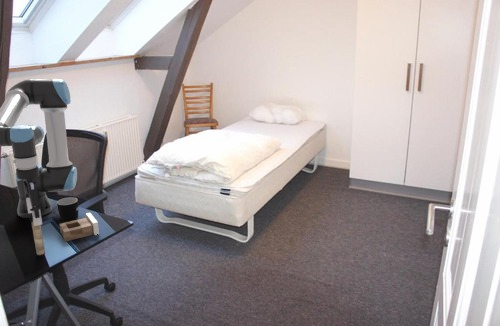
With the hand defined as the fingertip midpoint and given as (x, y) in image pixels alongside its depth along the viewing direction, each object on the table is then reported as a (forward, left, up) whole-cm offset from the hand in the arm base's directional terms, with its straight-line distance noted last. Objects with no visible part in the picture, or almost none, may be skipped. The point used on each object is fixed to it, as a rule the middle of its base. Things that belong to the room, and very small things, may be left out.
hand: (35, 218), depth 154 cm
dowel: (0, 0, -16) cm, 16 cm away
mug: (-26, +17, -16) cm, 35 cm away
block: (-9, +16, -16) cm, 24 cm away
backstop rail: (-9, +23, -16) cm, 29 cm away
